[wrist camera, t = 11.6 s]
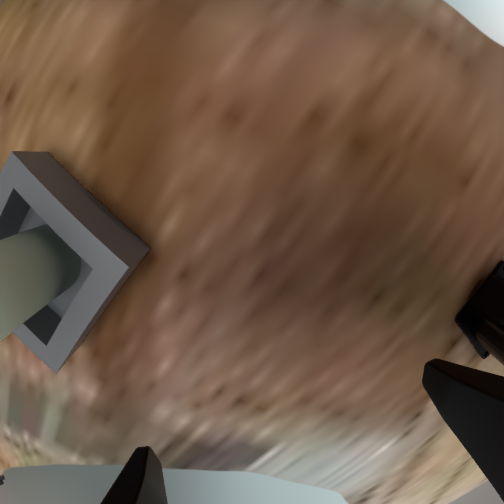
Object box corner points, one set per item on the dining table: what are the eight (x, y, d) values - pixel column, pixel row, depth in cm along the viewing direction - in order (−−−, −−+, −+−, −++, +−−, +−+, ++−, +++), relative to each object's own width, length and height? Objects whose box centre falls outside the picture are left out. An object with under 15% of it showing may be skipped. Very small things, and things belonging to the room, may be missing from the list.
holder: (151, 248, 19) (128, 267, 15) (80, 345, 21) (56, 373, 17) (47, 152, 18) (11, 151, 14) (-6, 259, 19) (-38, 273, 16)
